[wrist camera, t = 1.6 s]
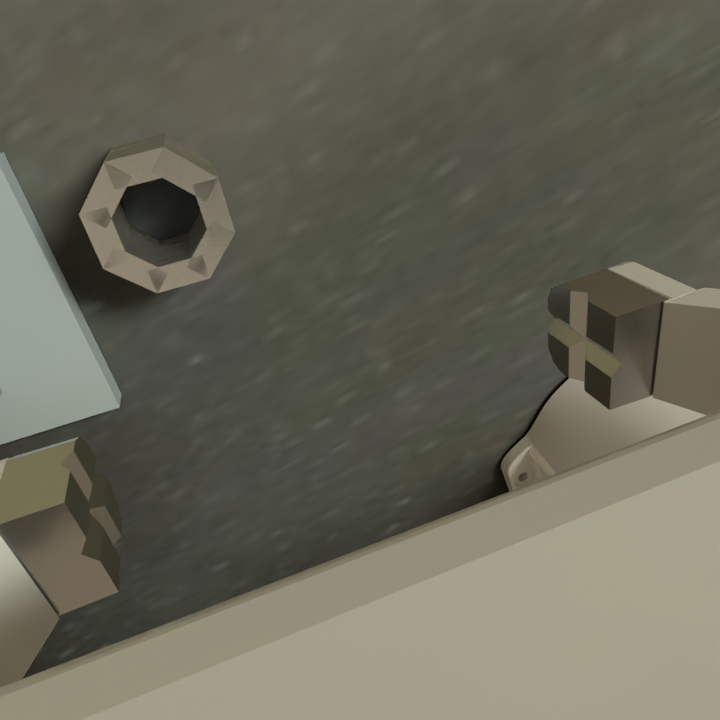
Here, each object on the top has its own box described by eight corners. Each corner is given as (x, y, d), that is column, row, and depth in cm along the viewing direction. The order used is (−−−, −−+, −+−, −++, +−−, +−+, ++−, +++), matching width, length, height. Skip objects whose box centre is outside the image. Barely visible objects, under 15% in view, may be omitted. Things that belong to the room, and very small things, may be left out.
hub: (237, 242, 32) (246, 268, 29) (124, 273, 31) (118, 304, 28) (200, 125, 29) (205, 136, 25) (74, 156, 28) (59, 172, 24)
